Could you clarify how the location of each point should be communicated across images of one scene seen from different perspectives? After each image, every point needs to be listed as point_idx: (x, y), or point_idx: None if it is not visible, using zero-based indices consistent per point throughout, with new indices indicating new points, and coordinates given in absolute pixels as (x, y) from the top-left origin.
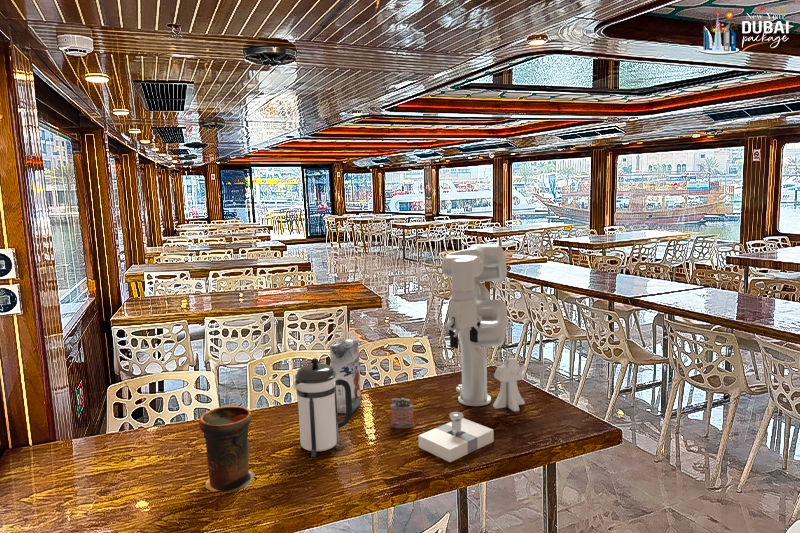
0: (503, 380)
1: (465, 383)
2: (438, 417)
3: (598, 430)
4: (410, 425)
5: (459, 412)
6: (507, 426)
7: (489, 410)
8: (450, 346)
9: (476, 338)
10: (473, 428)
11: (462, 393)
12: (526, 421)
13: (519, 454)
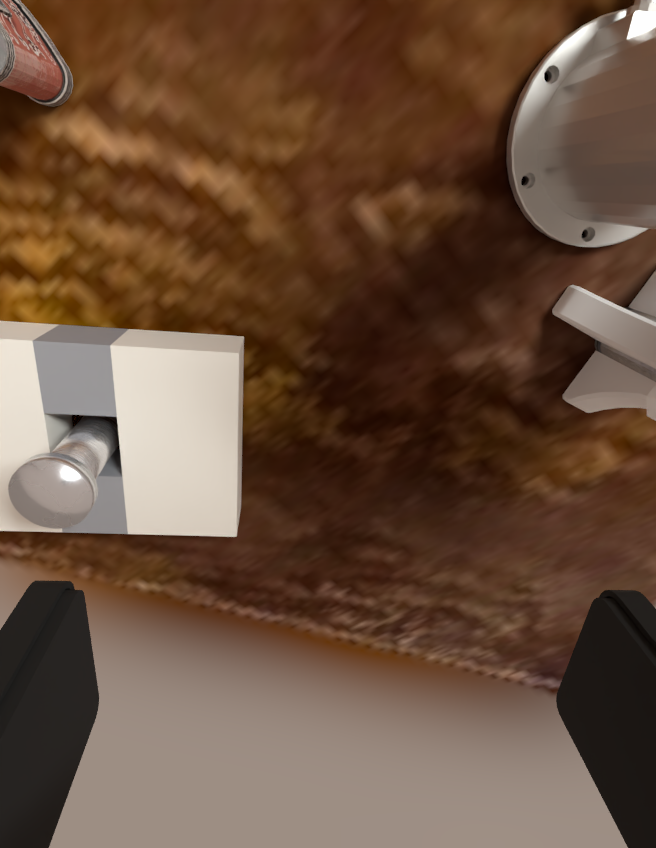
0: (651, 415)
1: (605, 110)
2: (264, 134)
3: (547, 671)
4: (29, 97)
5: (85, 489)
6: (398, 465)
7: (514, 301)
8: (37, 581)
9: (599, 773)
10: (181, 473)
11: (582, 72)
12: (488, 490)
13: (226, 611)
